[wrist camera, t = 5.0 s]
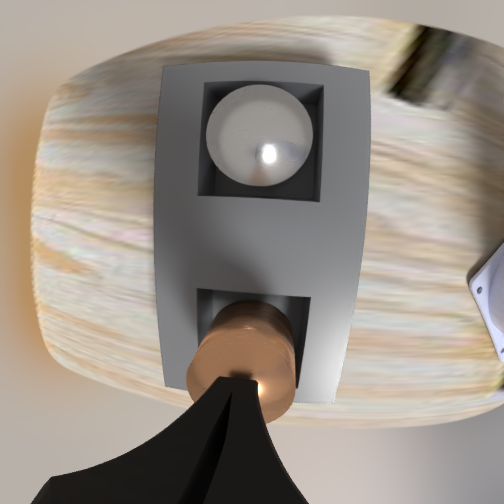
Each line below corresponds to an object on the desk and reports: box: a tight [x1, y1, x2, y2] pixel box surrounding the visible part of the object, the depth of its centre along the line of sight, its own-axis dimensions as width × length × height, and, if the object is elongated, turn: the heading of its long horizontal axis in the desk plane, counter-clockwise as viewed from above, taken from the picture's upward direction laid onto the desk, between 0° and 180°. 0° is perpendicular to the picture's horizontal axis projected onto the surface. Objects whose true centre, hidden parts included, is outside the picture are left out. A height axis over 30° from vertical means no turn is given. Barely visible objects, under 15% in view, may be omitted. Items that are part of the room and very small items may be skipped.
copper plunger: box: [186, 299, 296, 424], centre depth 12 cm, size 4×4×4 cm
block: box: [154, 61, 371, 404], centre depth 14 cm, size 16×9×4 cm, turn 177°
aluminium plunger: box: [206, 85, 313, 186], centre depth 12 cm, size 4×4×4 cm
